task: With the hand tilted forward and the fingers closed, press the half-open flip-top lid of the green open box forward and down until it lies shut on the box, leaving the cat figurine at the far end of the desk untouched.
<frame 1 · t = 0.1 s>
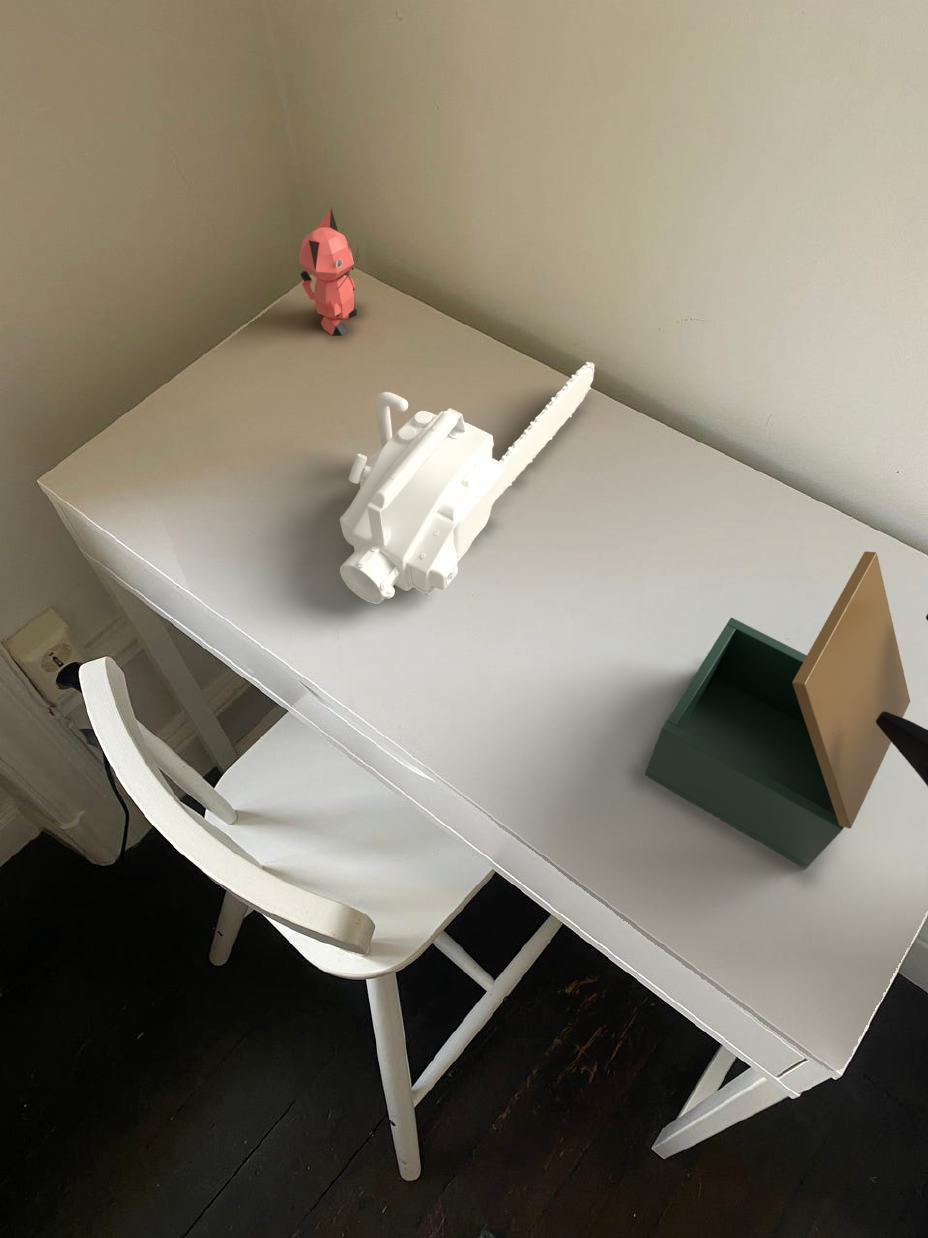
hand: (904, 662, 58), 17 cm above the table, tool horizontal, fingers open, 9 cm apart
chainsaw: (461, 478, 90), on the table
cat figurine: (335, 320, 104), on the table
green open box: (753, 763, 73), on the table
tin lid: (857, 692, 60), point 15 cm above the table, hinge at 60.0°
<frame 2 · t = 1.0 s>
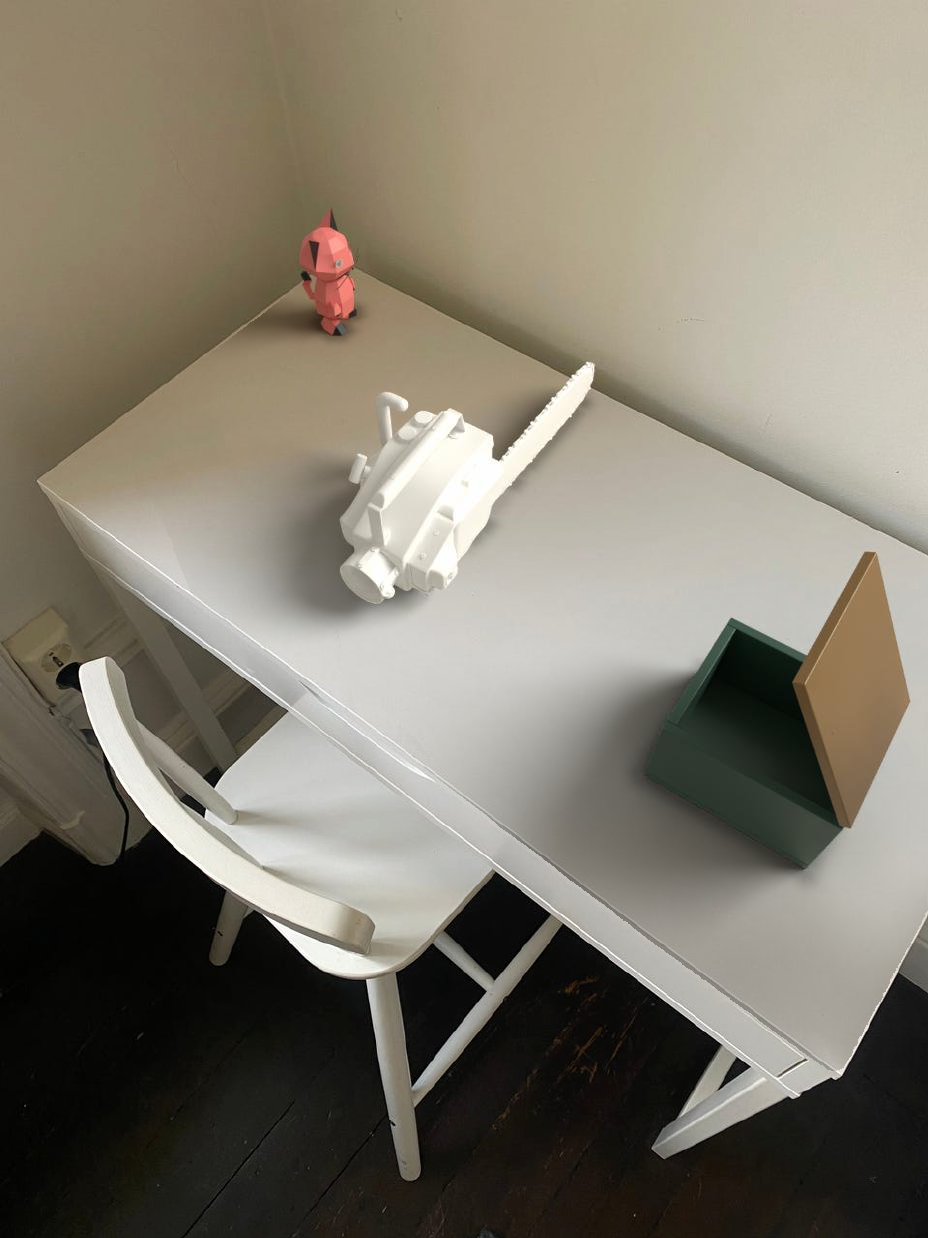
nothing on the table moved.
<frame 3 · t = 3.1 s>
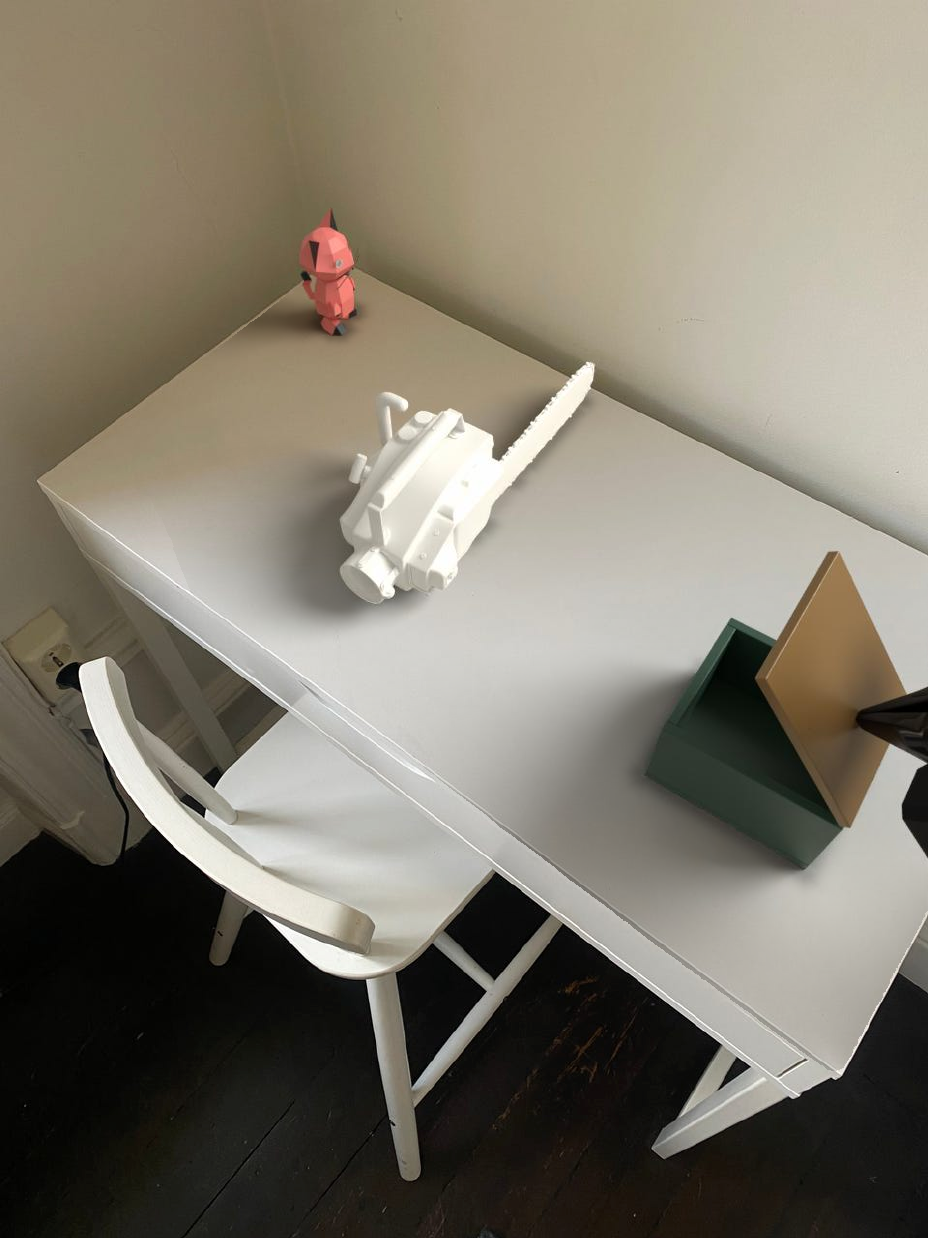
hand: (859, 719, 61), 12 cm above the table, tool tilted 45°, fingers closed, pressing on tin lid
tin lid: (839, 690, 61), point 14 cm above the table, hinge at 50.2°, touching gripper
everything else where it was.
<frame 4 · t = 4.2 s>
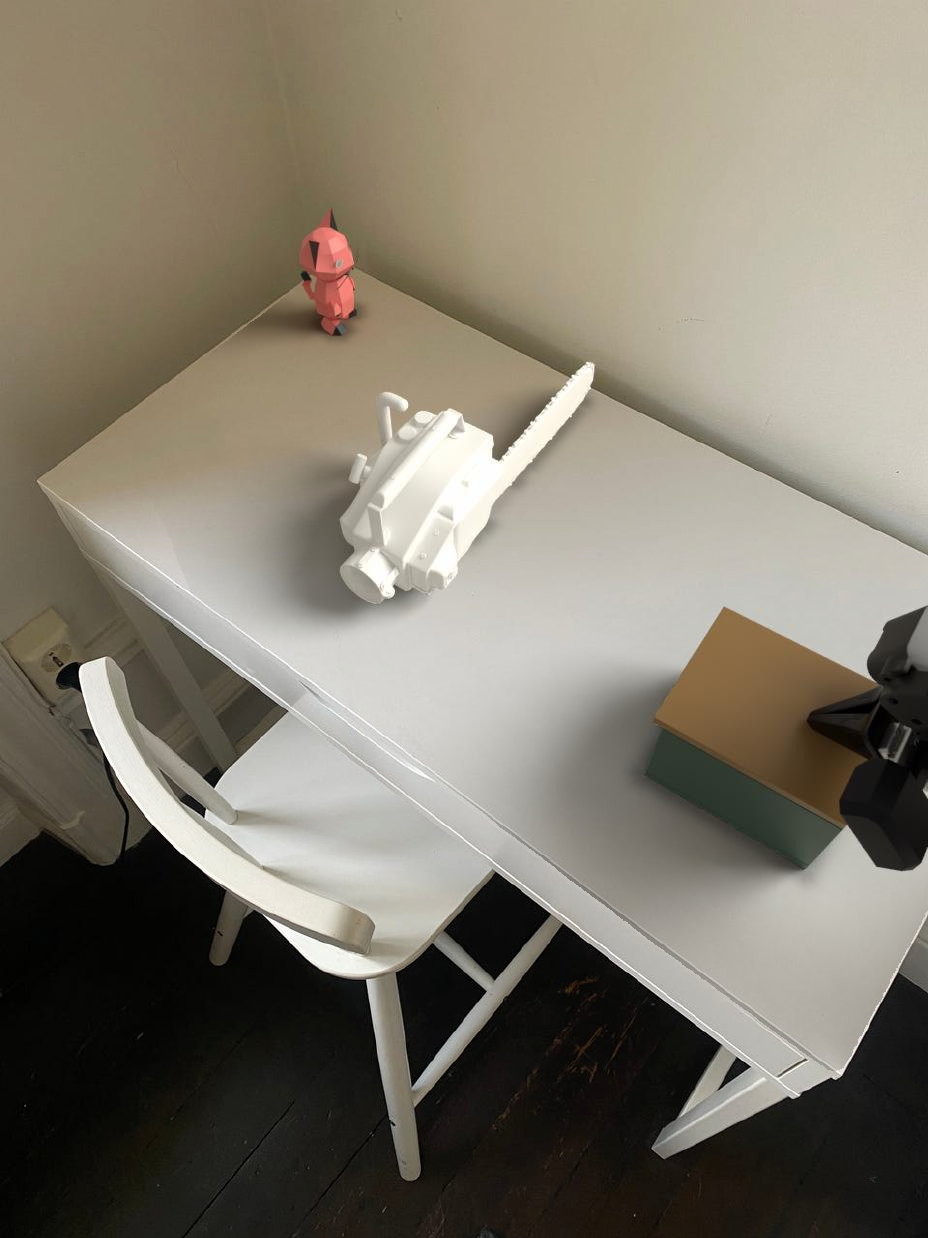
hand: (810, 720, 65), 9 cm above the table, tool tilted 45°, fingers closed, pressing on tin lid
tin lid: (779, 710, 66), point 9 cm above the table, hinge at -0.1°, touching gripper
everything else where it was.
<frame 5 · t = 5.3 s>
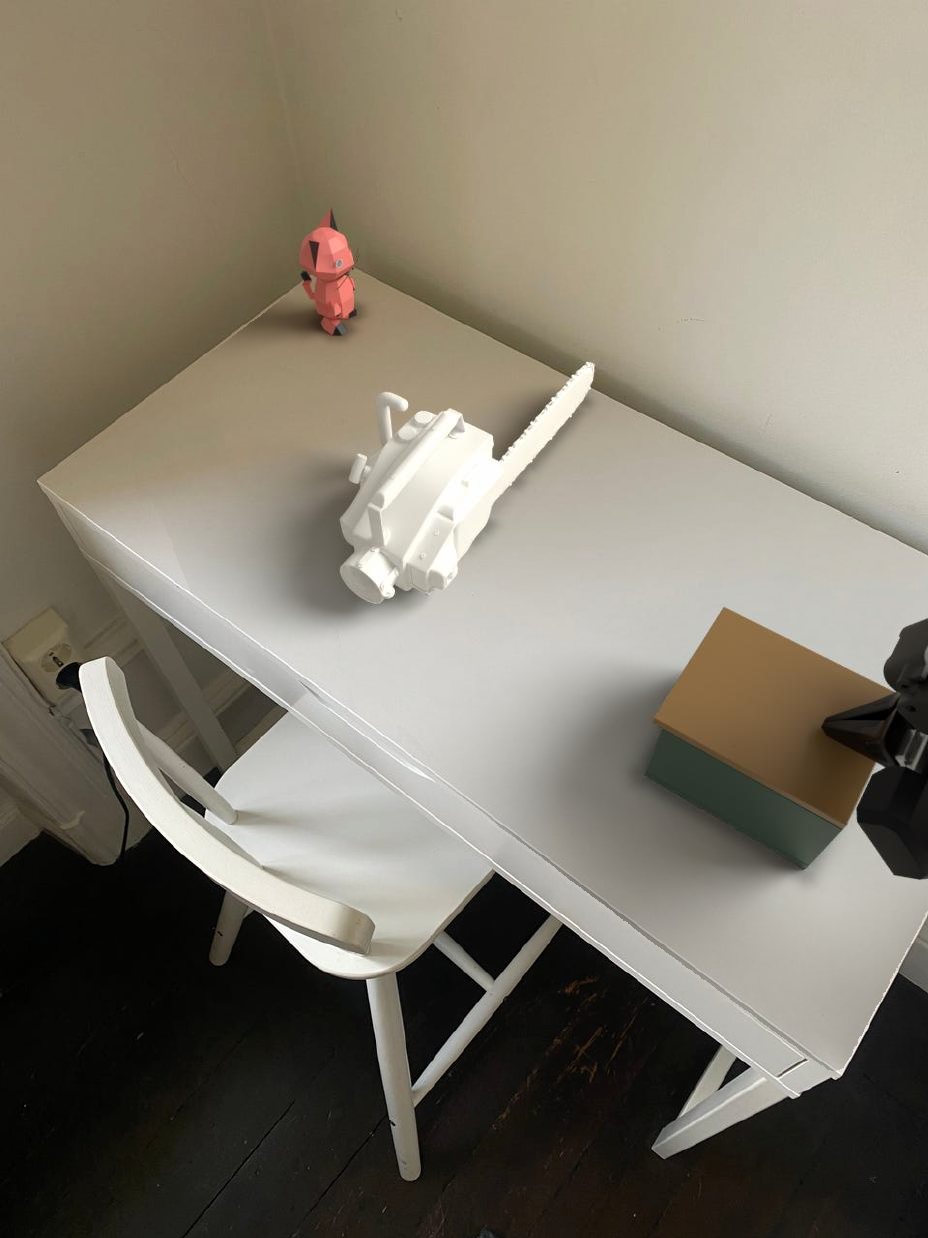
hand: (825, 727, 64), 10 cm above the table, tool tilted 45°, fingers closed
tin lid: (779, 710, 66), point 9 cm above the table, hinge at -0.2°, touching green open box
everything else where it was.
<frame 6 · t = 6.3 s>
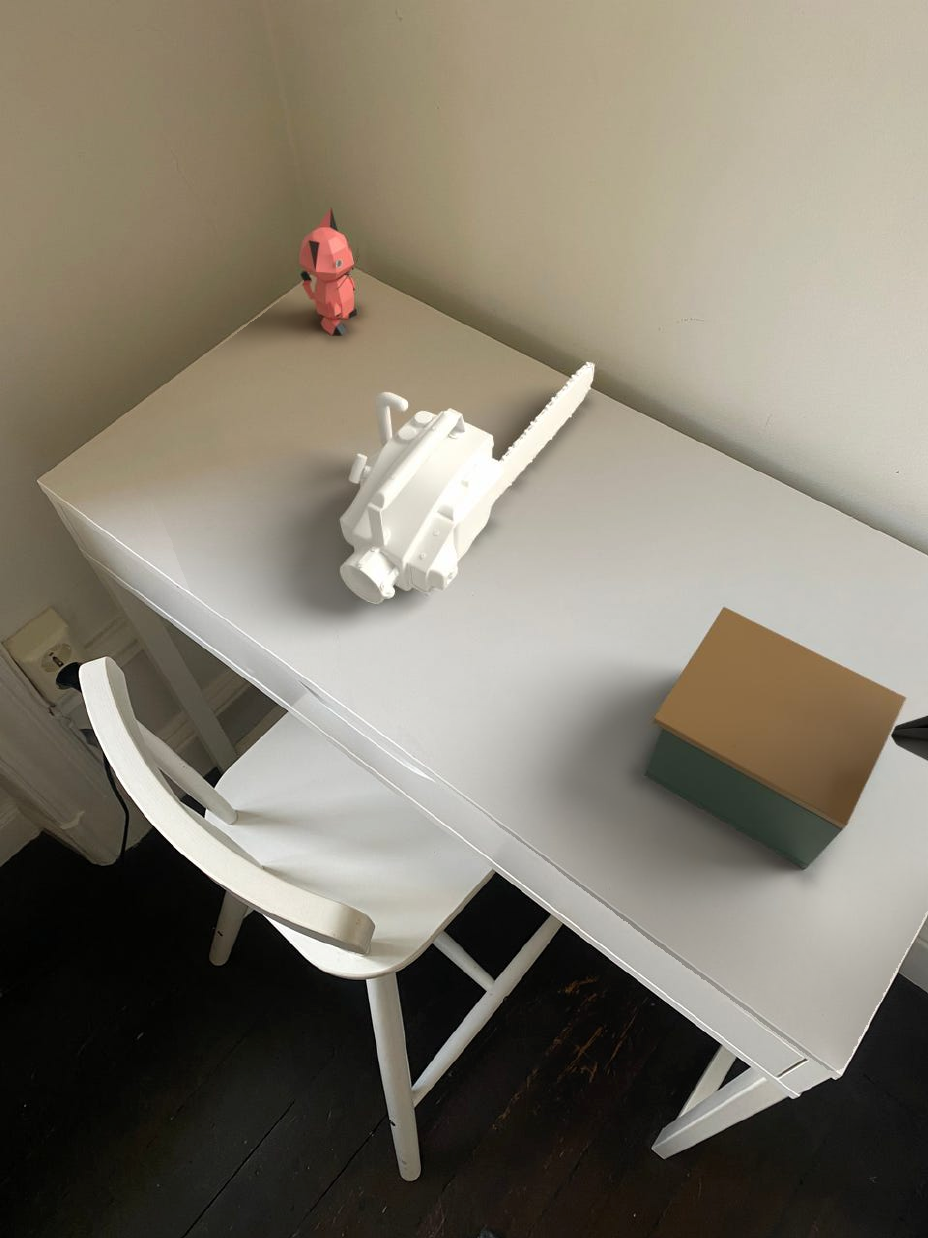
hand: (895, 735, 61), 13 cm above the table, tool tilted 45°, fingers closed
nothing on the table moved.
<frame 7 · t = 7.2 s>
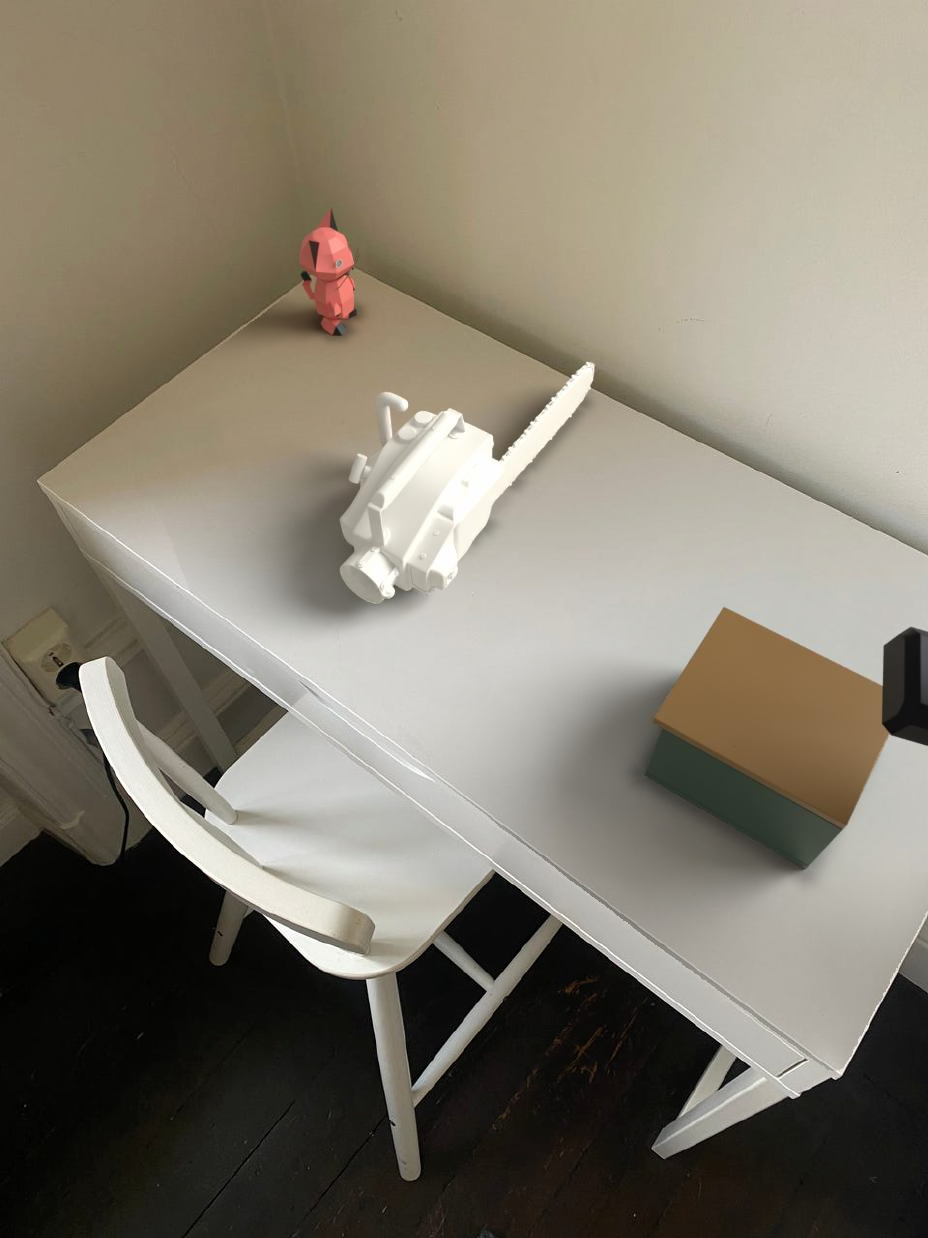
nothing on the table moved.
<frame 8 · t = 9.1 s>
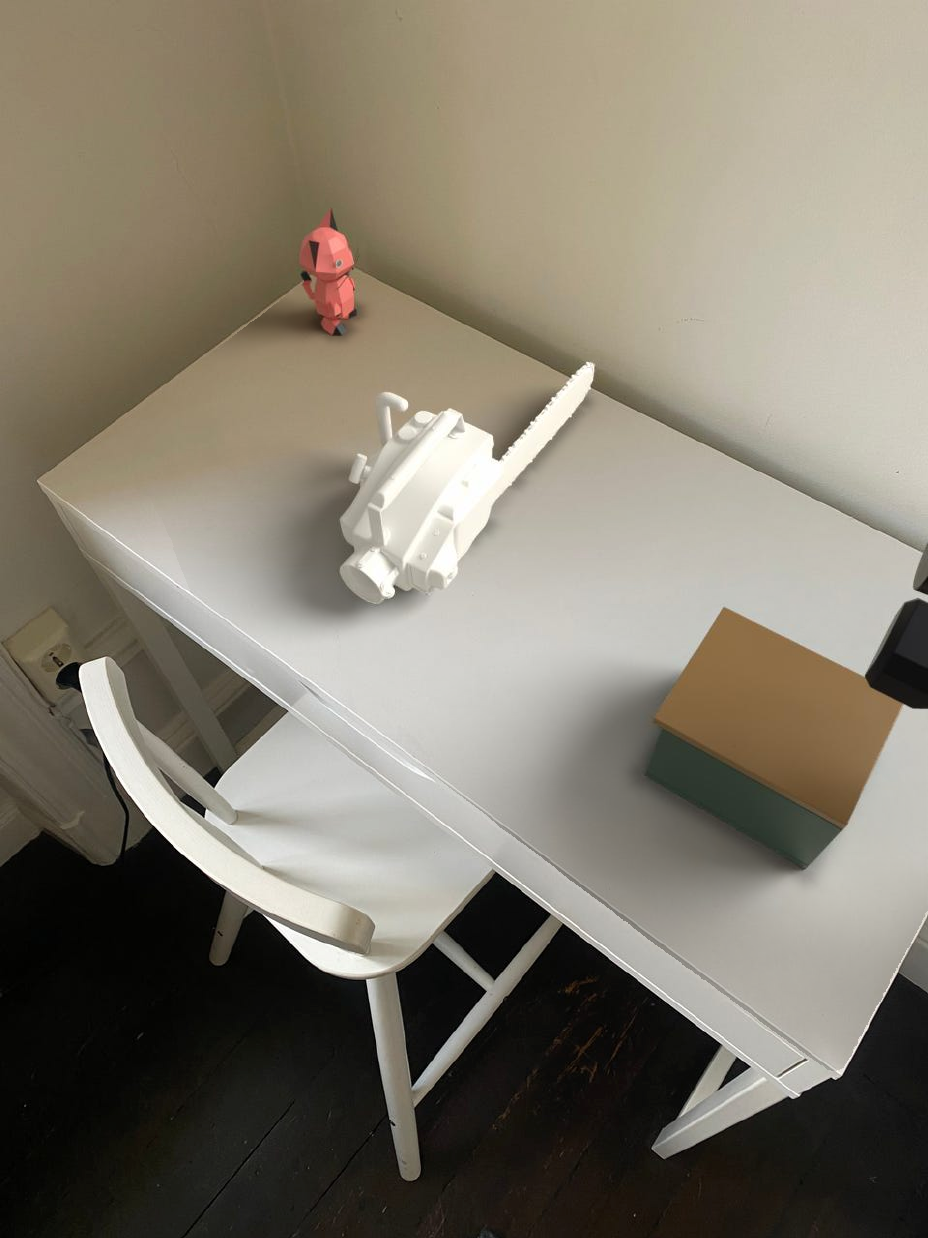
nothing on the table moved.
at the end: tin lid at +0° (first picture: +60°); cat figurine moved 0.2 cm from its start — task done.
